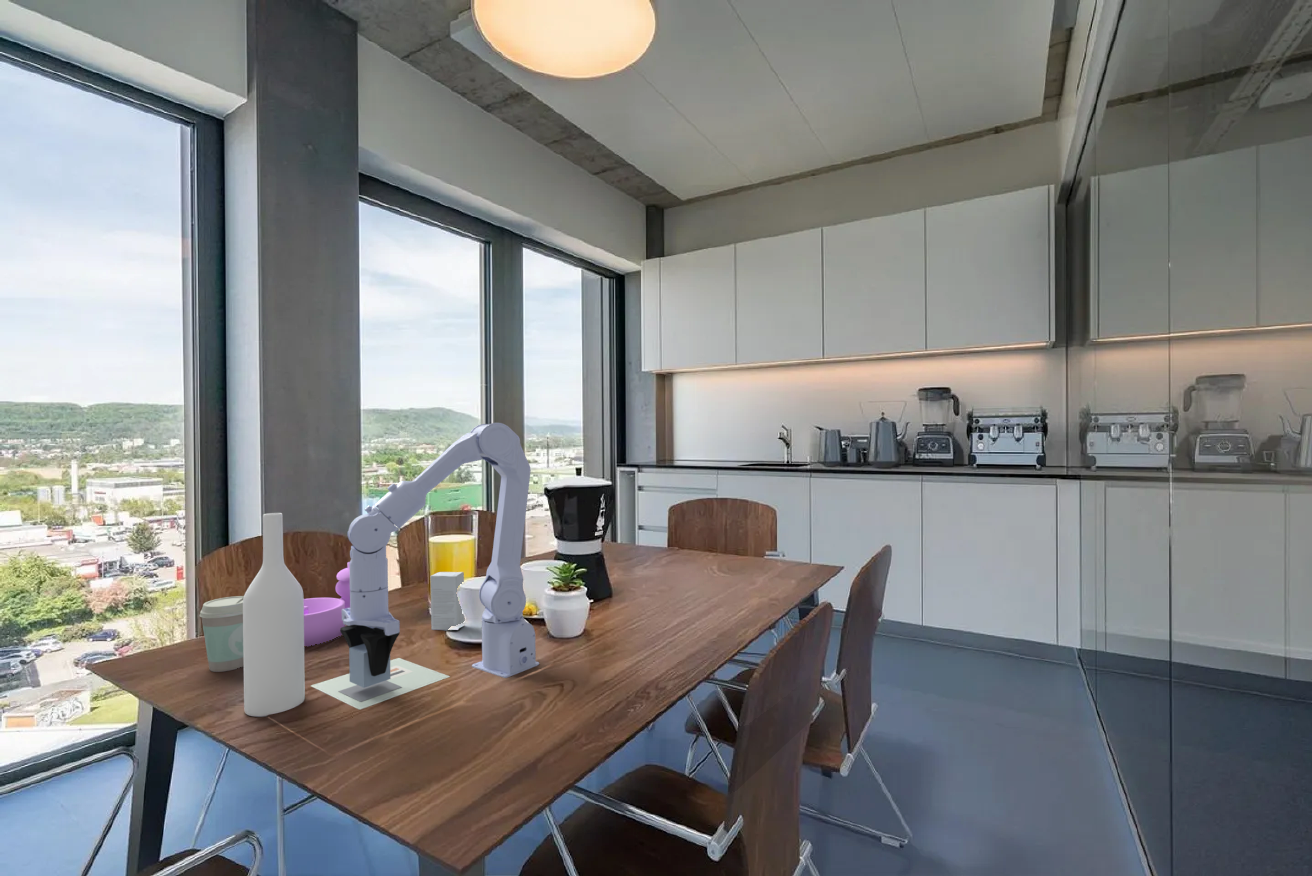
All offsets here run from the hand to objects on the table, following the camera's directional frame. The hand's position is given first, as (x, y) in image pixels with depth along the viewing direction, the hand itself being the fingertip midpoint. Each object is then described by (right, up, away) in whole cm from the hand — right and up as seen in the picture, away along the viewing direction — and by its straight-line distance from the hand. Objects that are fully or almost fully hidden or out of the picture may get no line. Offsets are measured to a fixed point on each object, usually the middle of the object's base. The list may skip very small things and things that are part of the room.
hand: (370, 670), depth 102 cm
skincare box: (+1, -4, +34) cm, 34 cm away
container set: (-26, -4, +34) cm, 43 cm away
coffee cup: (-32, -4, +12) cm, 34 cm away
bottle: (-13, -4, -5) cm, 14 cm away
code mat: (0, -3, +4) cm, 5 cm away
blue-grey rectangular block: (0, -2, 0) cm, 2 cm away
